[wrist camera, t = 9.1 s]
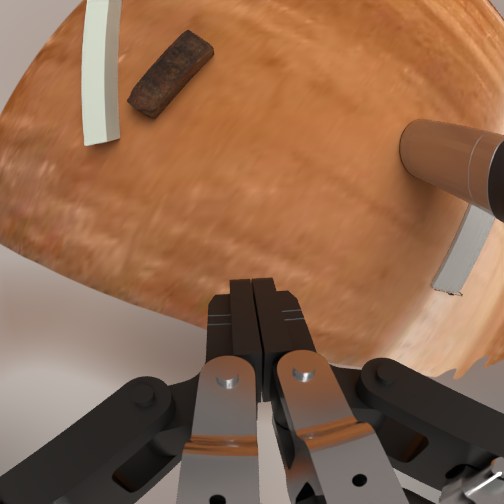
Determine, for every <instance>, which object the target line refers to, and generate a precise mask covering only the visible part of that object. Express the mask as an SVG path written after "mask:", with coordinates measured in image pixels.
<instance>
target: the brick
mask: <svg viewBox="0 0 504 504" xmlns="http://www.w3.org/2000/svg"><path fill="white" fill-rule="evenodd" d="M213 49H214V48H213V47H212V46H211V45H210V44H209V43H208V42H206V41H204V40H203V39H201V38H200V37H198V36H197V35H195V34H194V33H192V32H191V31H190V30H187V31H185V32H184V33H182V34H181V35H180V36H179V37H178V38H177V39H176V40H175V41H174V43H173V44H172V45H170V47H169V48H168V49H167V50H166V51H165V52H164V53H163V54H162V55H161V56H160V57H159V59H158V60H157V61H156V62H155V63H154V64H153V65H152V66H151V68H150V69H149V70H148V71H147V72H146V73H145V75H144V76H143V77H142V78H141V79H140V81H139V82H138V83H137V84H136V86H135V87H134V88H133V90H132V92H131V95H130V97H129V98H128V100H127V102H128V103H129V104H131V105H132V106H133V107H134V108H135V109H136V110H139V111H141V112H142V113H144V114H145V115H147V116H148V117H150V118H156V117H157V116H158V115H159V114H160V113H161V112H162V111H163V110H164V108H165V107H166V106H167V105H168V104H169V103H170V102H171V100H172V99H173V98H174V97H175V96H176V95H177V94H178V92H179V91H180V90H181V89H182V88H183V87H184V86H185V84H186V83H187V82H188V81H189V80H190V79H191V78H192V77H193V76H194V75H195V74H196V73H197V72H198V71H199V70H200V69H201V67H202V66H203V65H204V64H206V62H207V61H208V60H209V59H210V58H211V57H212V56H213V55H214V50H213Z"/></svg>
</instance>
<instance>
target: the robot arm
mask: <svg viewBox="0 0 504 504" xmlns="http://www.w3.org/2000/svg"><path fill="white" fill-rule="evenodd" d="M400 155H401V159H402V162H403V165H404V166H405V168H406V170H407V171H408V172H409V173H410V174H411V175H413V176H414V177H416V178H419V179H421V180H423V181H425V182H428V183H430V184H432V185H434V186H436V187H438V188H440V189H442V190H444V191H446V192H448V193H450V194H452V195H454V196H456V197H458V198H460V199H462V200H464V201H466V202H468V203H470V204H472V205H473V206H475V207H477V208H479V209H481V210H483V211H485V212H486V213H488V214H490V215H492V216H493V217H495V218H497V219H498V220H500V221H502V222H503V223H504V135H501V134H497V133H493V132H489V131H484V130H480V129H476V128H471V127H466V126H461V125H456V124H450V123H444V122H439V121H432V120H425V119H418V120H415V121H413V122H412V123H410V124H409V125H408V126H407V127H406V129H405V131H404V132H403V135H402V138H401V142H400ZM206 349H207V350H206V363H205V365H204V367H203V368H202V370H201V372H200V373H199V374H198V375H196V376H195V377H193V378H192V379H190V380H187V381H185V382H181V383H177V384H173V385H170V386H167V384H165V383H164V382H163V381H162V380H160V379H158V378H155V377H148V376H145V377H138V378H136V379H133V380H131V381H129V382H128V383H126V384H125V385H124V386H122V387H121V388H120V389H119V390H117V391H116V392H115V393H113V394H112V395H111V396H110V397H108V398H107V399H106V400H104V401H103V402H102V403H100V404H99V405H98V406H96V407H95V408H94V409H93V410H91V411H90V412H89V413H87V414H86V415H85V416H83V417H82V418H81V419H79V420H78V421H77V422H75V423H74V424H73V425H71V426H70V427H69V428H67V429H66V430H65V431H64V432H62V433H61V434H60V435H58V436H56V437H55V438H54V439H53V440H51V441H50V442H48V443H47V444H46V445H44V446H43V447H41V448H40V449H39V450H38V451H36V452H34V453H33V454H32V455H30V456H29V457H28V458H26V459H25V460H23V461H22V462H21V463H19V464H18V465H16V466H15V467H13V468H12V469H11V470H9V471H8V472H6V473H5V474H3V475H2V476H1V477H0V504H134V503H135V502H137V500H139V499H140V498H141V497H142V496H143V495H144V494H146V493H147V492H148V491H149V490H150V489H151V488H152V487H153V486H155V485H156V484H157V483H158V482H159V481H160V480H161V479H162V478H163V477H164V476H165V475H167V473H169V472H170V471H171V470H172V469H173V468H174V467H175V466H176V465H177V464H178V463H179V462H180V461H181V468H180V477H179V485H178V493H177V502H176V504H260V498H259V467H258V466H259V465H258V444H257V404H258V402H261V392H262V398H263V402H268V401H271V405H272V411H273V416H272V424H273V427H274V431H275V435H276V439H277V443H278V447H279V450H280V454H281V458H282V461H283V465H284V469H285V473H286V484H287V490H288V494H289V498H290V502H291V504H435V503H433V502H431V501H429V500H427V499H425V498H423V497H421V496H420V495H418V494H416V493H414V492H412V491H410V490H408V489H405V488H402V487H401V485H400V483H399V481H398V478H397V477H396V474H395V472H394V470H393V468H395V469H397V470H399V471H400V472H402V473H404V474H407V475H408V476H410V477H412V478H414V479H416V480H418V481H420V482H422V483H425V484H427V485H429V486H431V487H433V488H435V489H437V490H440V491H442V494H441V496H440V498H439V504H504V414H503V413H501V412H498V411H496V410H494V409H492V408H490V407H488V406H486V405H483V404H481V403H479V402H477V401H475V400H473V399H471V398H469V397H467V396H464V395H463V394H460V393H458V392H456V391H454V390H452V389H450V388H448V387H446V386H444V385H442V384H440V383H438V382H436V381H434V380H432V379H430V378H428V377H426V376H424V375H422V374H420V373H418V372H416V371H414V370H412V369H410V368H408V367H406V366H404V365H402V364H400V363H399V362H397V361H394V360H392V359H389V358H376V359H372V360H370V361H368V362H367V363H366V364H365V365H364V366H363V368H362V370H357V369H347V368H339V367H335V366H332V365H330V364H329V363H328V362H327V360H326V359H325V358H324V357H323V356H321V355H320V354H318V353H317V352H316V349H315V347H314V344H313V341H312V338H311V335H310V333H309V330H308V327H307V324H306V322H305V319H304V316H303V314H302V311H301V308H300V305H299V303H298V300H297V298H296V297H294V296H293V295H292V294H291V293H290V292H289V291H276V288H275V284H274V281H273V278H256V279H252V280H251V281H250V279H239V280H230V294H223V295H215V296H214V297H213V299H212V300H211V301H210V303H209V305H208V326H207V346H206ZM392 467H393V468H392Z"/></svg>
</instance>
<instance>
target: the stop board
mask: <svg viewBox="0 0 504 504" xmlns="http://www.w3.org/2000/svg"><path fill="white" fill-rule="evenodd" d="M121 5H122V1H121V0H87V7H86V15H85V24H84V35H83V50H82V116H83V132H84V144H85V146H88V145H93V144H98V143H103V142H108V141H112V140H116V139H120V126H119V105H118V48H119V29H120V16H121Z"/></svg>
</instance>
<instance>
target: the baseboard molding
mask: <svg viewBox="0 0 504 504" xmlns="http://www.w3.org/2000/svg"><path fill="white" fill-rule="evenodd" d="M494 220H495V217H493V216H492V215H490V214H488V213H486V212H485V211H483V210H481V209H479V208H477V207H475V206H473V205H472V204H470V203H469V205H468V208H467V210H466V213H465V215H464V218H463V220H462V222H461V225H460V227H459V229H458V232H457V234H456V236H455V238H454V240H453V243H452V245H451V247H450V249H449V251H448V253H447V255H446V257H445V259H444V261H443V263H442V265H441V267H440V269H439V271H438V272H437V274H436V276H435V278H434V280H433V282H432V283H431V286H432V287H434V288H438V289H442V290H446V291H450V292H454V293H457V292H458V293H460V290H461V288H462V286H463V285H464V283H465V281H466V279H467V277H468V276H469V274H470V272H471V270H472V268H473V266H474V264H475V262H476V260H477V258H478V256H479V254H480V252H481V250H482V248H483V245H484V243H485V241H486V239H487V237H488V234H489V232H490V230H491V227H492V225H493V223H494ZM435 290H436V289H435ZM438 291H440V290H438ZM442 292H444V291H442ZM446 293H448V292H446ZM448 294H450V293H448ZM460 294H461V293H460ZM450 295H454V294H452V293H451V294H450ZM455 295H456V294H455ZM461 295H463V294H461ZM459 296H460V295H459Z"/></svg>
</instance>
